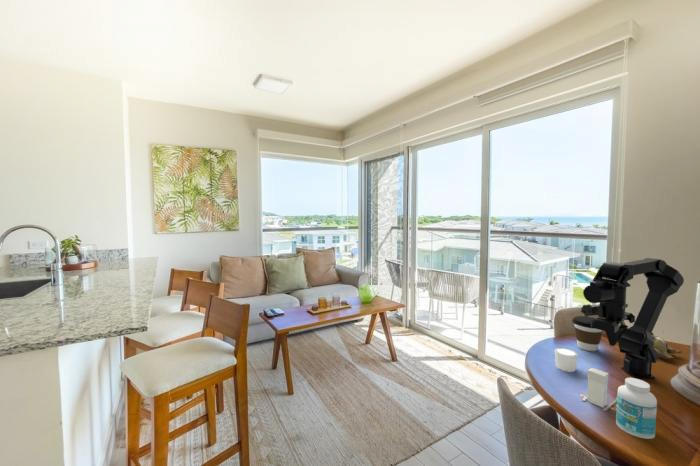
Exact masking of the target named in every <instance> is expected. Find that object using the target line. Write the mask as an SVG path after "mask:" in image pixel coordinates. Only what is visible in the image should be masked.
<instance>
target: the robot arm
mask: <svg viewBox="0 0 700 466" xmlns="http://www.w3.org/2000/svg"><path fill="white" fill-rule="evenodd" d="M642 274H643V276H644V277H645V278H646V285H647V288H648V292H647V295H646V297H645V299H644V301H643V303H642V305H641V308H640V310H639V312H638V314H637V317H636V316H635V315H634V314H633V313H632V312H627V311H626V309H627V308H629V305H628V304H629V303H626V302H627V288H629V287H631V284H630V283H629V281H631V280H633V279H634V277H635V276H637V275H642ZM684 283H685V280H684V277H683V275H682V274H681V273H680V271H678V270H677V269H676V268H674V267H673V266H671V265H669V264H668V263H667V262H666V261H665V260H663V259H659V258H651V257H647V258H643V259H638V260H634V261H629V262H616V261H615V262H614V261H605V262H603V263H602V264H601V265H600V267H599V268H598V270H597V272H596V274H595V275H594V278H593V279H592V281H589V285H587V286H586V287H585V288H584V289H583V291H582V294H583V297H584V298H585V300H586V301H587V302H589V304H583V305H582V307H581V308H580V309H581V310H580V312H581V313H582V314H583V315H584V316H586V317H592V316H598V317H596V319H594V320H593V321H591V327H592V328H595V329H599V330H603V331H602V332H605V334H606V337H607V338H606V339H607V340H608V343H609V346H611V347H614V346H616V344H617V345H618V348H619V352H620V353H621V354H624V358H623V366H621V367H620V369H621V370H622V371H624V372H626V373H628V374H629V375H631V377H632V378H636V379H640V378H641V379H656V376H654V375H653V374H652V367H653V366H652V365H653V364H656V363H657V362H658V361H659V358H660V357H659V354H658V353H657V352H656V351H655V349H654V348H653V346H654V341H653V338H652V335H651V333H653V330H654V328H655V327H656V323H657V321H658V319H659V318H660V315H661V312H662V311H663V308H664V306H665V304H666V301H667V300H668V298H669V297H670V296H673V295H674V294H676V293H678V291H679V289H680V288H681V286H683V284H684ZM590 303H592V304H590ZM624 321H628V322H629V323H630V324H633V325H632V326H629V325H626V324H624V323H623V322H624ZM652 363H653V364H652Z"/></svg>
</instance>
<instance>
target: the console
mask: <svg viewBox="0 0 700 466" xmlns="http://www.w3.org/2000/svg"><path fill="white" fill-rule="evenodd" d="M579 396H581V397H583V398H582V399H581V401H582V402H586V401H587V395H584V394H582V393H581V394H579ZM613 406H617V397H615V398H614V399H613V400H612V401H611V402H610V403H608V404H607V405H606V406H605V407H604V408H602V410H603V411H604V412H607V411H608V410H609V409H611V410H613V411H616V410H617V408H615V407H613Z"/></svg>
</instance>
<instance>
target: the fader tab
mask: <svg viewBox="0 0 700 466" xmlns="http://www.w3.org/2000/svg"><path fill="white" fill-rule="evenodd" d="M586 378H587V394H586V396H587V400H586V401H587V402H588V403H590V404H593V405H595V406H598V407H600V408H602V409H604V408H605V407H606V406H607V405H608V404H607V402H608V400H607V399H608V382H609V372H605V371H604V370H600V369H597V368H594V367H591V368H589V369H588V370H587V377H586Z"/></svg>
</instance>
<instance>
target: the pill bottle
mask: <svg viewBox="0 0 700 466" xmlns="http://www.w3.org/2000/svg"><path fill="white" fill-rule="evenodd" d="M650 391H651V385H650V384H649V383H648V382H646V381H644V380H642V379H640V378H636V377H626V378H625V379H624V384H623V385H620V386H618V388H617V395H616V398H617V402H616V404H617V405H616V409H617V410H616V412H615V413H616V414H615V424H616V426H617V427H618V428H619V429H621V430H622V431H623V432H625V433H627V434H628V435H631V436H633V437H636V438H641V439H647V440H650V439H654V438H655V437H656V429H657V428H656V426H657V424H656V423H657V412H658V411H657V410H658V408H657V407H658V400H657V398H656V396H655V394H653V393H652V392H650Z"/></svg>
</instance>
